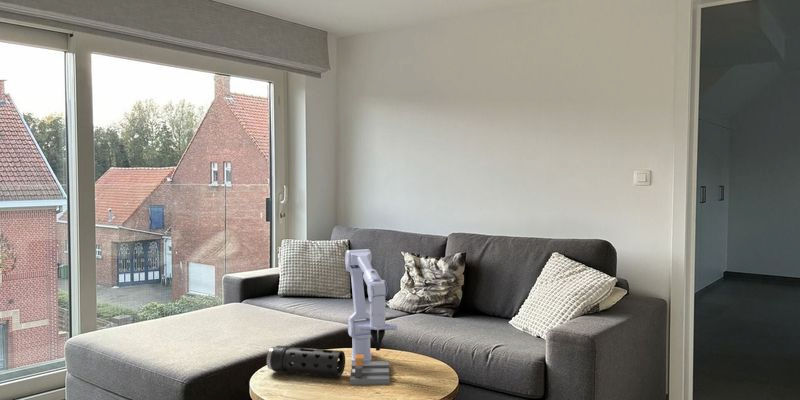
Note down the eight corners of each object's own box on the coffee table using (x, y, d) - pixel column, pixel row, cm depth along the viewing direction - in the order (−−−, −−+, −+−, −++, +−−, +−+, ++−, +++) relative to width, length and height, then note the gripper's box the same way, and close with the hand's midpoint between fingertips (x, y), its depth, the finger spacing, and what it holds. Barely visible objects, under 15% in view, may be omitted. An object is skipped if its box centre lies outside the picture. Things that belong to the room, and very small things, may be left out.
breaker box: (352, 366, 235) (352, 352, 235) (388, 366, 235) (388, 352, 235) (350, 384, 215) (349, 369, 215) (389, 384, 215) (389, 369, 215)
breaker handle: (355, 367, 227) (355, 354, 227) (363, 367, 227) (363, 354, 227) (355, 371, 223) (354, 358, 223) (363, 371, 223) (363, 357, 223)
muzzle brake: (336, 382, 218) (336, 354, 217) (265, 376, 225) (265, 349, 224) (345, 374, 227) (345, 346, 227) (277, 368, 234) (276, 342, 233)
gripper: (357, 316, 220) (357, 353, 221) (397, 315, 221) (397, 352, 222) (358, 311, 228) (358, 347, 228) (397, 311, 228) (397, 347, 229)
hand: (377, 349), depth 225 cm, fingers closed
